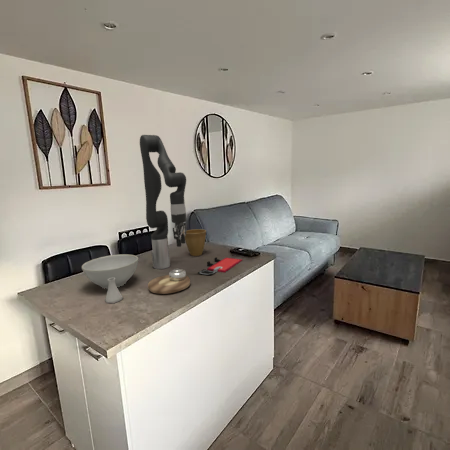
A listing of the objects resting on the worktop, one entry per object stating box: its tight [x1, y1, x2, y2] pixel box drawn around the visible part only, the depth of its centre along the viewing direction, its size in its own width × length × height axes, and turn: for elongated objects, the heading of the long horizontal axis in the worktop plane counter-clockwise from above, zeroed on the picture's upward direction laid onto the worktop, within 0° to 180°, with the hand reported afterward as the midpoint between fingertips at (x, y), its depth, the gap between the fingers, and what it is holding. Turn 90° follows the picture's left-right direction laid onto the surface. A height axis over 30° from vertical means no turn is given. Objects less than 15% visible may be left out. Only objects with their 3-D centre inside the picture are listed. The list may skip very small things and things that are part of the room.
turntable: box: [147, 274, 191, 295], centre depth 142 cm, size 20×20×3 cm
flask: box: [104, 278, 124, 304], centre depth 130 cm, size 7×7×10 cm
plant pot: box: [185, 228, 207, 257], centre depth 194 cm, size 15×15×16 cm
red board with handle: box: [197, 257, 243, 276], centre depth 168 cm, size 30×3×15 cm
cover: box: [168, 268, 187, 282], centre depth 145 cm, size 8×8×5 cm
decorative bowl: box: [81, 253, 139, 290], centre depth 149 cm, size 27×27×12 cm
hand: (181, 244), depth 151 cm, fingers open, 6 cm apart
